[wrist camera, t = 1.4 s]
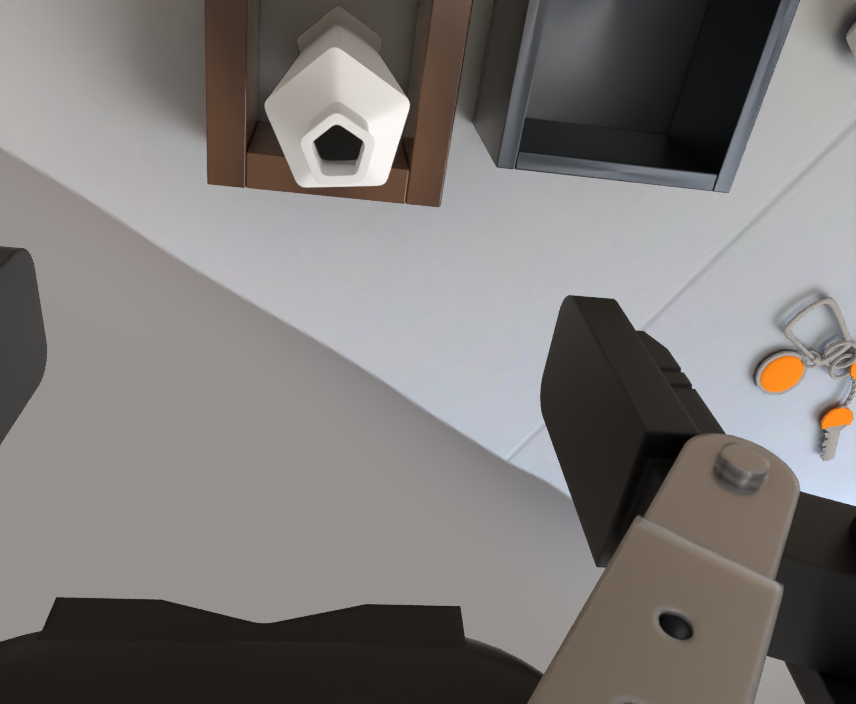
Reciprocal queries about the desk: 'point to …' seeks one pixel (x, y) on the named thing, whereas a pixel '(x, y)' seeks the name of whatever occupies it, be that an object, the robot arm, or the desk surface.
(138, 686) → the robot arm
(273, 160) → the rack
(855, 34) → the game die
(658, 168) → the dark grey open box
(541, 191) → the desk surface
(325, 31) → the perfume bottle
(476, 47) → the desk surface
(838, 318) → the key chain
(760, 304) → the desk surface
